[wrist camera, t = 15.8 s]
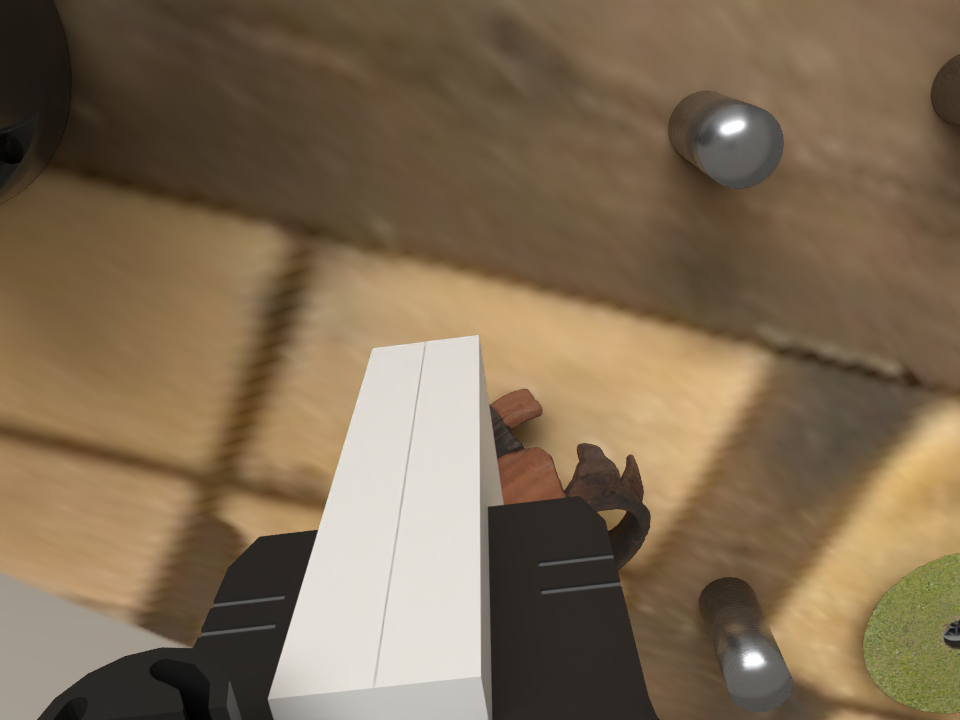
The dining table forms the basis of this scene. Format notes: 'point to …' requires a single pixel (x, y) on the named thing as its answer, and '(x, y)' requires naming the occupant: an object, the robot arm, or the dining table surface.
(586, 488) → the pottery mug
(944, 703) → the green disc
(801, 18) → the dining table surface
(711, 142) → the posts
